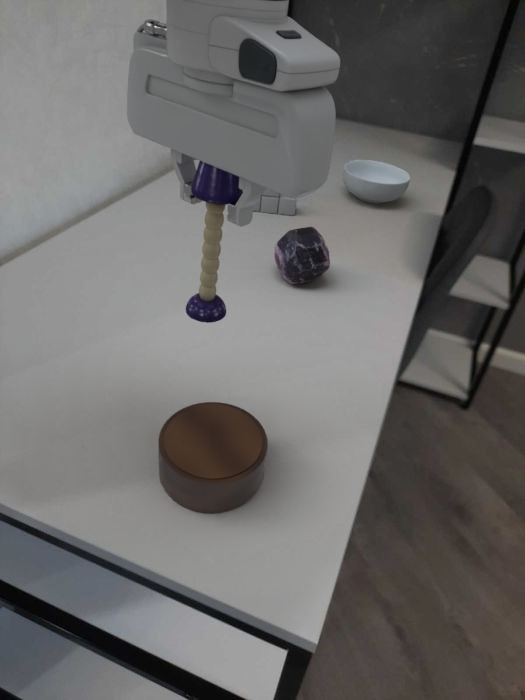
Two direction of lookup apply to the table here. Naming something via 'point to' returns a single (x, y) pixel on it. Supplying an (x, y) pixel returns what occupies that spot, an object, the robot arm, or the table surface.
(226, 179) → the toy lamp
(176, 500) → the wooden drum
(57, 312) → the table surface
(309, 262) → the mineral specimen
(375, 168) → the cereal bowl
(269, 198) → the grey stepped block
